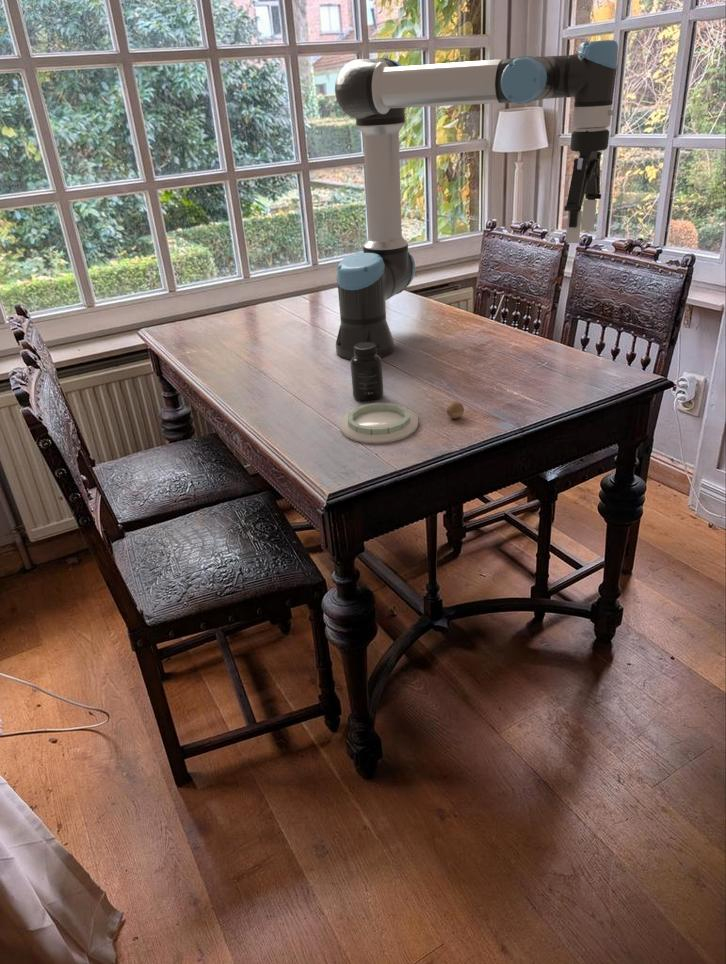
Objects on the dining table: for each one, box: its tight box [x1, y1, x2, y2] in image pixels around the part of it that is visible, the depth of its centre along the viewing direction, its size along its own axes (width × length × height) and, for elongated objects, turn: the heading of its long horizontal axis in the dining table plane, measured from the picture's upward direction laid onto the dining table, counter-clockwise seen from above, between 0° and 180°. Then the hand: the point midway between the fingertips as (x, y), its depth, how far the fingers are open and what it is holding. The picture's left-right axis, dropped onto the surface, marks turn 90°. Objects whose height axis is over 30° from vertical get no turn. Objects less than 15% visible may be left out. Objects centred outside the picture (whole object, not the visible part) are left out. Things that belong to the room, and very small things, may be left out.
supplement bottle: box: [350, 342, 384, 403], centre depth 149 cm, size 7×7×12 cm
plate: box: [339, 402, 419, 444], centre depth 138 cm, size 16×16×2 cm
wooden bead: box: [446, 401, 465, 420], centre depth 139 cm, size 4×4×4 cm
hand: (579, 236), depth 152 cm, fingers open, 13 cm apart
